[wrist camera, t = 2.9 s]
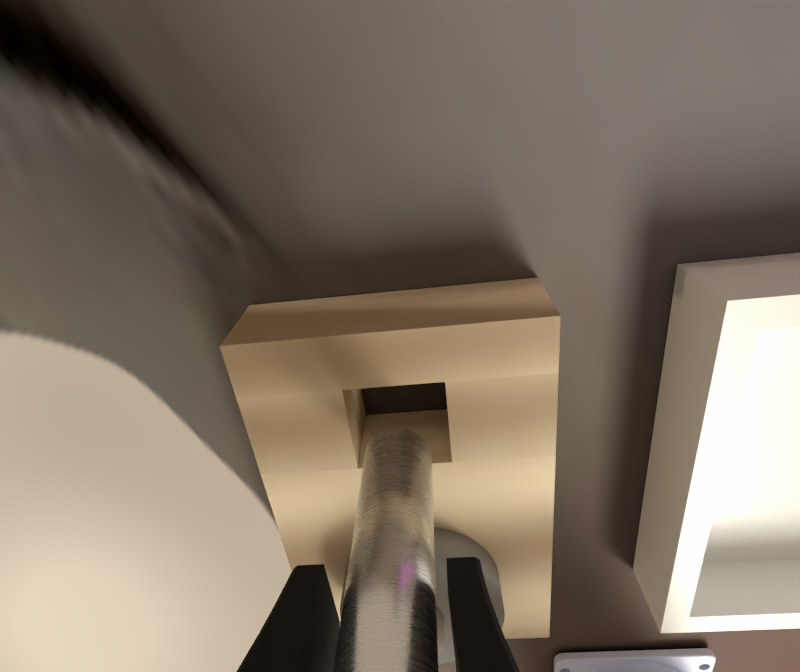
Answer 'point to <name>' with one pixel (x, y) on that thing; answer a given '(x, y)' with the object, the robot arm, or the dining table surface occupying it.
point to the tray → (726, 452)
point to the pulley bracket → (412, 427)
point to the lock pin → (391, 562)
